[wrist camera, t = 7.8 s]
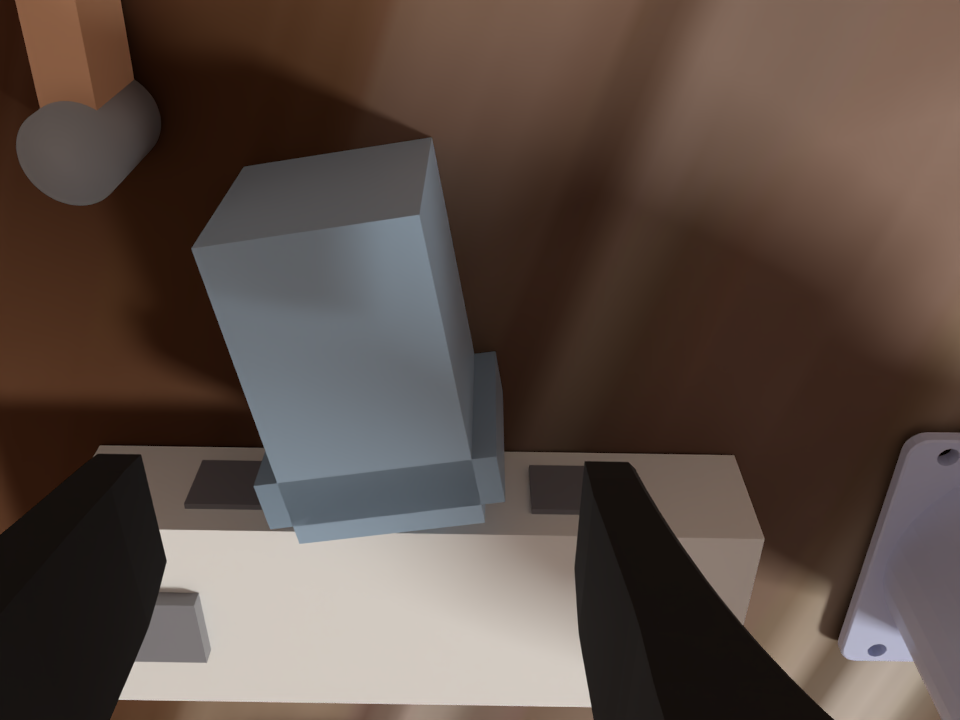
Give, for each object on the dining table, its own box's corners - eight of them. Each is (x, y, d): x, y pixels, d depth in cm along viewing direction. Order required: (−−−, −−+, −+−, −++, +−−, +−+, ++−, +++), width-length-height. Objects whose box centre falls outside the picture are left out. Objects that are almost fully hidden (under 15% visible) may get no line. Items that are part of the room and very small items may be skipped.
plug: (456, 132, 19) (448, 210, 15) (506, 408, 22) (508, 519, 19) (221, 169, 19) (163, 252, 16) (308, 433, 23) (277, 547, 19)
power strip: (735, 450, 23) (770, 546, 20) (700, 619, 26) (726, 722, 23) (98, 440, 23) (42, 535, 20) (144, 610, 26) (101, 712, 23)
